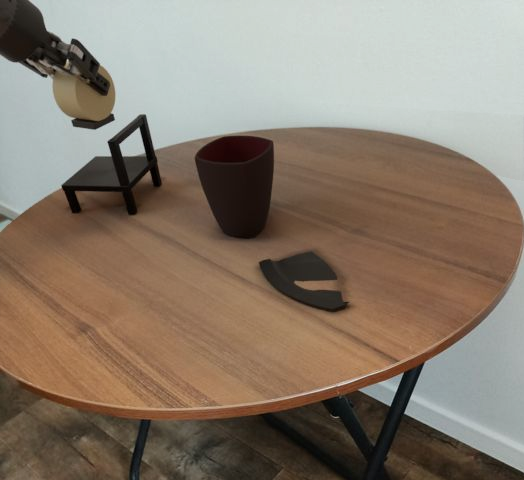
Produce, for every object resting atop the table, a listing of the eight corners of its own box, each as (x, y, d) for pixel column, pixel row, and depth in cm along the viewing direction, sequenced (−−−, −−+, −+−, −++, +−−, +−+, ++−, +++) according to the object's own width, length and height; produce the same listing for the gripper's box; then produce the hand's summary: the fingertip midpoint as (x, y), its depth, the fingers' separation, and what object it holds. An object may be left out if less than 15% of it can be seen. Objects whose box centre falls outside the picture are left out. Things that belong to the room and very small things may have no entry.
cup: (199, 239, 77) (183, 159, 69) (244, 198, 86) (235, 123, 78) (258, 250, 73) (248, 167, 65) (299, 206, 82) (294, 128, 74)
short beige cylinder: (65, 130, 79) (44, 69, 73) (100, 114, 84) (83, 55, 78) (87, 133, 77) (68, 71, 71) (122, 116, 81) (106, 56, 76)
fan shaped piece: (297, 330, 59) (296, 319, 58) (257, 272, 69) (255, 262, 68) (363, 309, 61) (363, 298, 60) (314, 255, 71) (313, 245, 70)
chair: (71, 213, 88) (44, 142, 80) (103, 182, 97) (82, 115, 89) (135, 215, 85) (114, 141, 77) (163, 183, 94) (146, 114, 86)
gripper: (40, -21, 60) (136, 66, 75) (-35, -18, 66) (68, 62, 81) (22, 43, 60) (121, 117, 75) (-51, 40, 66) (54, 108, 82)
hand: (93, 88), depth 78 cm, fingers closed on short beige cylinder, 4 cm apart
